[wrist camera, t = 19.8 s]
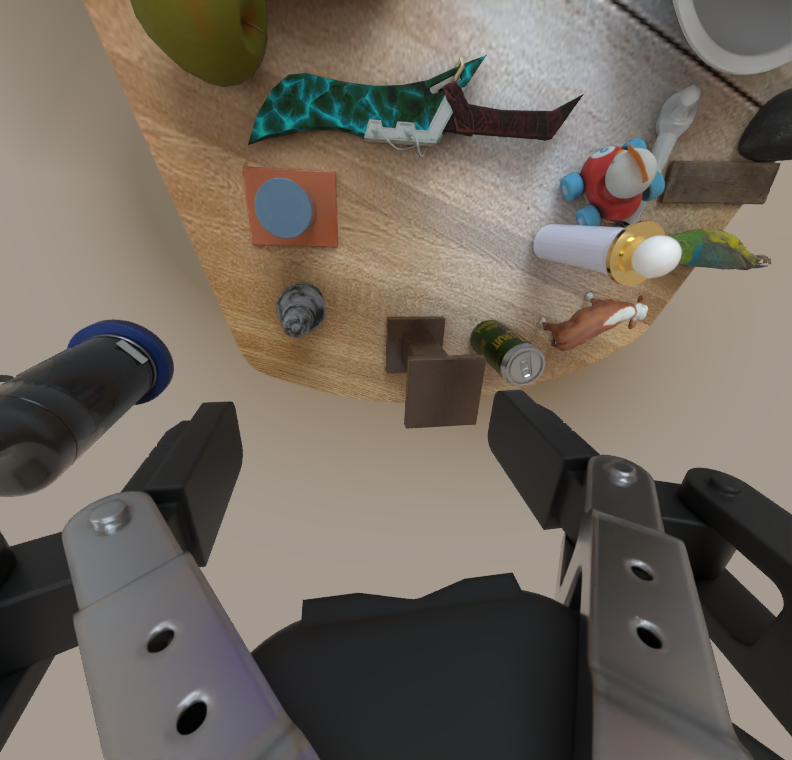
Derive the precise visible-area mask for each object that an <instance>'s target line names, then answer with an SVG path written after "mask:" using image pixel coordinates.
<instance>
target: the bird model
mask: <svg viewBox="0 0 792 760" xmlns="http://www.w3.org/2000/svg"><path fill="white" fill-rule="evenodd" d="M670 237H672V238H674V239H676V241H677V242H678V243H679V244H680V246H681V250H682V256H681V260H680V262H679V263H678V264H681V265H685V266H696V267H708V268H717V269H739V270H748V269H751V268H761V267H766V266H768V265H760V264H761V263H759V261H760V260H761V259H763V260H764V261H763V263H767V261H768V263H769V264H771V259H769V258H768V257H767V256H764V255H754V254H752V253H750V252H749V251H747V250H746V249H745V248H746V247H745V246H744V245H743V243H742V242H741V241H740V240H739V239H738V238H737V237H735V236H733V235H732V234H729V233H727V232H725V231H722V230H694V231H687V232H684V233H681V234H676V235H672V236H670Z"/></svg>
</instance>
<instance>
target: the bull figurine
mask: <svg viewBox="0 0 792 760" xmlns="http://www.w3.org/2000/svg"><path fill="white" fill-rule="evenodd" d="M585 299H587V300H590V303H592V306H591V307H587V308H584V309H581V310H579V311H577V312H576V313H575V314H574V315H573V316H572V317H571V318H570V320H569V321H566V322H563V323H560V324H549V323H547V322H546V318H545V317H542V318H541V319H540V322H539V324H540V325H542V326H543V329H544V330H548V331H551V332H552V334H550V335H549V337H548V338H549V340H550V341H551V343H552V344H551V345H552V346H553V347H556V348H559V349H560V350H562V351H566V350H570V349H572V348H574V347H576V346H578V345H580V344H583V343H585V342H586V341H587V340H589V339H591V338H593V337H595V336H597V335H599V334H601V333H602V332H604V331H606V330H609V329H611V328H613V327H615V326H616V325H618V324H619V323H620V322H622V321H626V320H628V319H630V318H631V320H630V322H629V326H628V328H629V329H632V328H634V327H635V325H636V320H642V319H644V318H645V317H646V314H647V311H648V307H647V306H646V305H643V303H644V302H645V298H644V296H643V295H641V296H639V298H638V302H637V304H632V303H628V302H620V301H614V300H612V299H605V300H600V299H597V298H596V297H593V292H588V293H587V295H586V298H585ZM555 341H556V342H557V343H556V344H557V345H556V344H555Z"/></svg>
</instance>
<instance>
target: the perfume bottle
mask: <svg viewBox="0 0 792 760" xmlns="http://www.w3.org/2000/svg"><path fill="white" fill-rule="evenodd" d="M609 221H612V222H615V223H616V224H617V225H618V226H619V227H608V226H589V225H570V224H548V225H546V226H544V227H542V228H541V229H540V230H539V231H538V233H537V234H536V236H535V239H534V243H533V249H534V252H535V254H536V256H537V257H539V258H540V259H542V260H547V261H551V262H555V263H560V264H564V265H569V266H573V267H577V268H582V269H586V270H591V271H595V272H600V273H604V274H608V275H609V276H610V278H611V279H612V280H613V281H614V282H616V283H618V284H622V285H627V286H629V285H636V284H639V283H641V282H643V281H645V280H646V279H648V278H657V277H661V276H664V275H666V274H668V273H669V272H671V271H672V270H673V269H674V268H675V267H676V266H677V265H678V263H679V262H680V260H681V256H682V250H681V246H680V244H679V243H678V242H677V241H676V239H674V238H672V237H670V236H666V235H665V232H664V230H663V228H662V227H661V226H660V225H658V224H657V223H655V222H651V221H639V222H635V223H632V224H629V223H627V222H625V221H621V220H609ZM618 222H619V223H618ZM620 222H621V223H623V225H622V224H621V223H620ZM624 225H625V226H624ZM626 226H627V227H626Z"/></svg>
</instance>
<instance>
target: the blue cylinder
mask: <svg viewBox="0 0 792 760" xmlns="http://www.w3.org/2000/svg"><path fill="white" fill-rule="evenodd" d="M254 205H255V212H256V215H257V218H258V220H259V222H260V223H261V225H262V226H263V227H264V228H265V229H266V230H267V231H268V232H269V233H271V234H272V235H274V236H276V237H279V238H285V239H288V238H294V237H297V236H299V235H300V234H302V233H303V232H305V231H306V230H308V229H309V228H310V227H311V226H312V224H313V223H314V220H315V217H316V207H315V203H314V201H313V199H312V197H311V196H310V194H309V193H308V192H307V191H305V190H304V189H303V188H302V187H300V186H299V185H298V184H297V183H295V182H293V181H291V180H289V179H286V178H273V179H270V180H268V181H266V182H265V183H263V184H262V185H261V186H260V188H259V189H258V191H257V193H256V196H255V203H254Z"/></svg>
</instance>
